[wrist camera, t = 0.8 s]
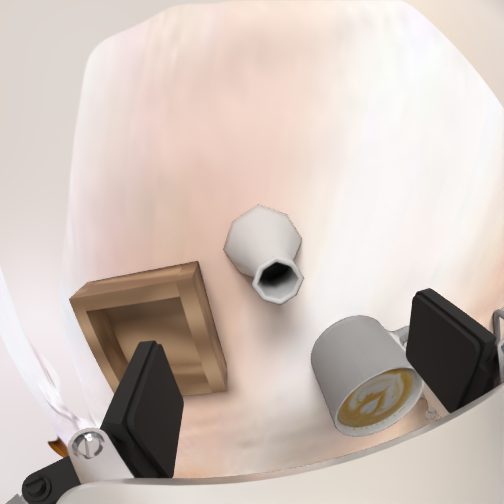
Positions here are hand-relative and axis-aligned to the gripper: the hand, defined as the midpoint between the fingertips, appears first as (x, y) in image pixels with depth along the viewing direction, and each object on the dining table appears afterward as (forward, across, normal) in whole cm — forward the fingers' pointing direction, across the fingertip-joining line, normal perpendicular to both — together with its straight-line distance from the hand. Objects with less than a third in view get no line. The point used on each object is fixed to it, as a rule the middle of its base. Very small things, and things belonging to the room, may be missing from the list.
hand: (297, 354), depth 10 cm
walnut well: (+19, +12, +8) cm, 24 cm away
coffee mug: (+19, -11, +16) cm, 27 cm away
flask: (+19, -1, +1) cm, 19 cm away
